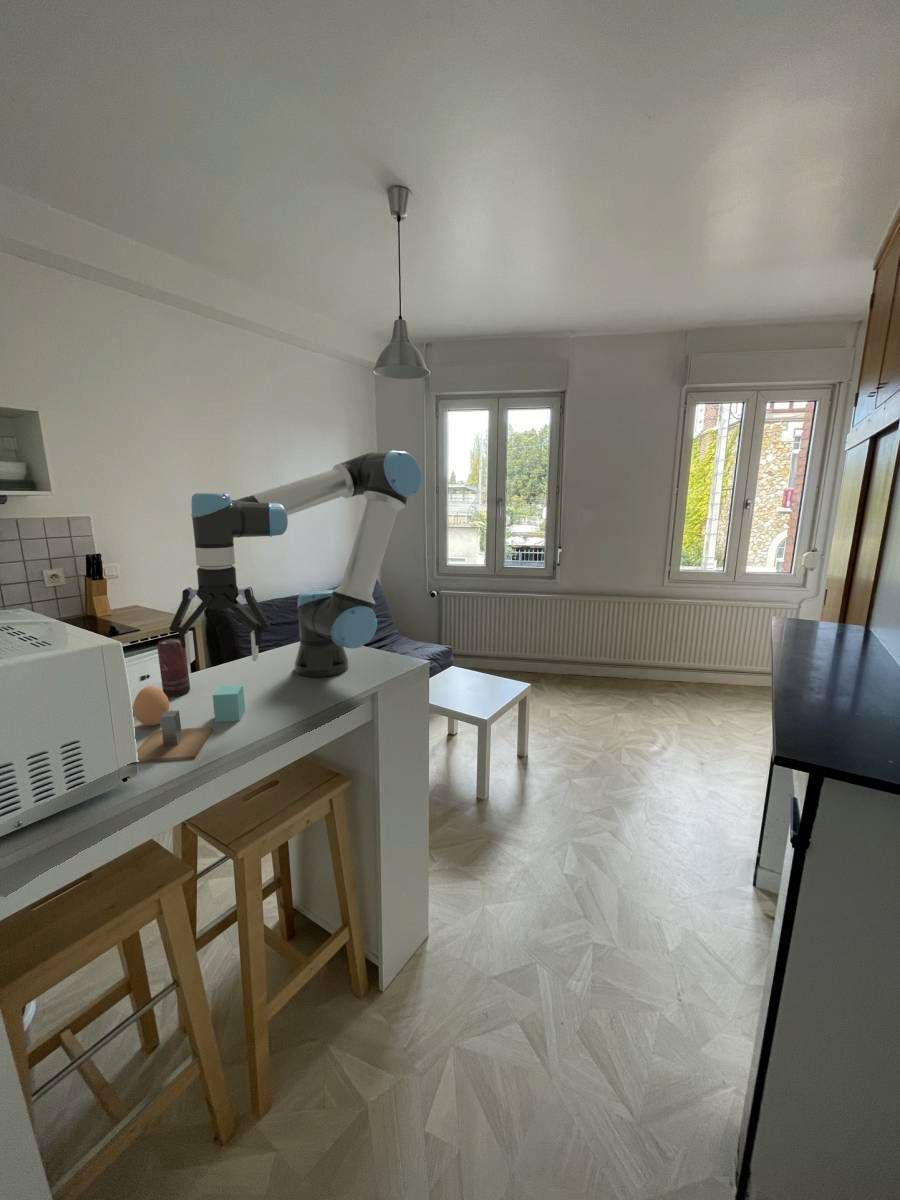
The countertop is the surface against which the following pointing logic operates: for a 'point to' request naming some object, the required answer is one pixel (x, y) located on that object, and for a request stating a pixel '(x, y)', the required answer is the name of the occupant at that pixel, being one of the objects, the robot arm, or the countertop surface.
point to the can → (173, 667)
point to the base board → (185, 749)
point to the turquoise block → (229, 703)
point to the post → (171, 728)
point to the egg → (150, 705)
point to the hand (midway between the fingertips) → (223, 660)
